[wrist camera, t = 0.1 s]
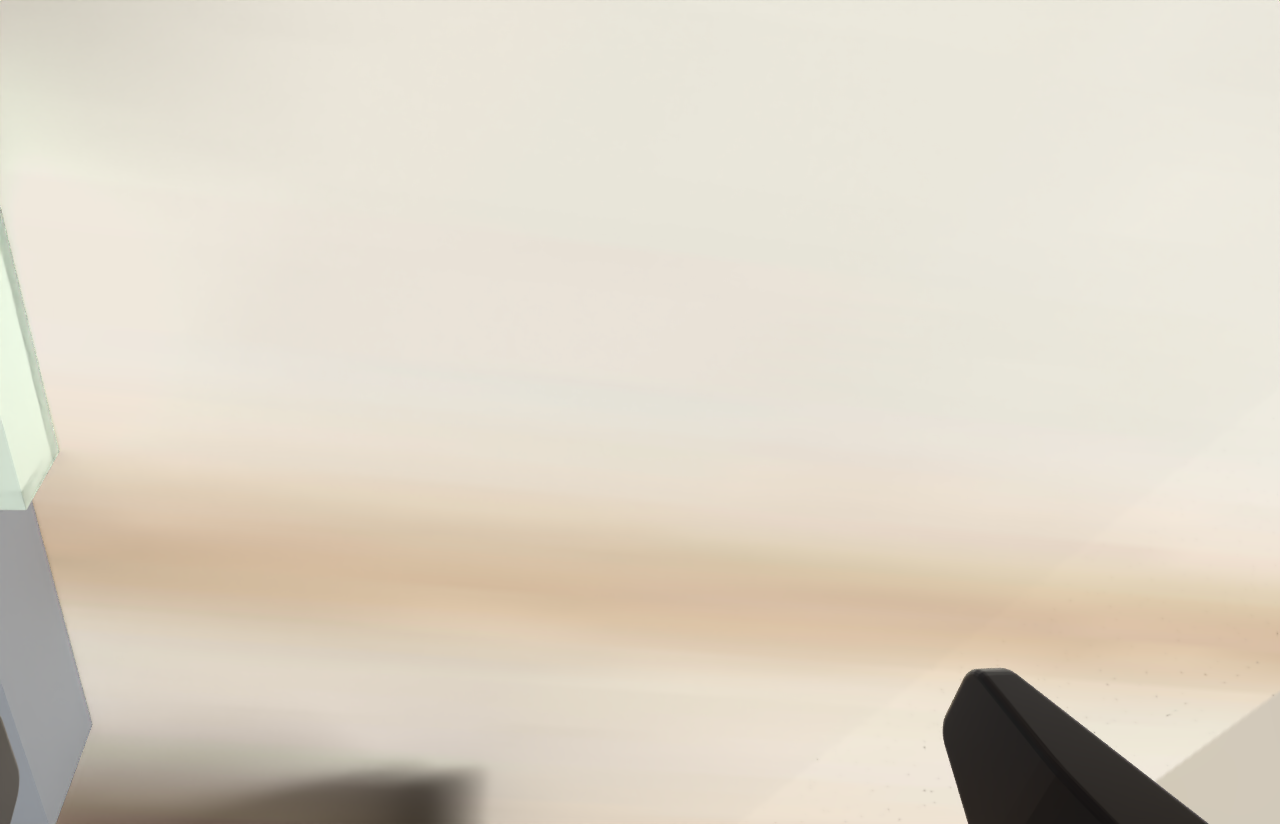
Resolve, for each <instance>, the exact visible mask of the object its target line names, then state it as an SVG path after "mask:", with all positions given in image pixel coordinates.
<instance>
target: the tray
mask: <svg viewBox="0 0 1280 824" xmlns="http://www.w3.org/2000/svg"><path fill="white" fill-rule="evenodd" d="M58 453H59V448H58V444H57V440H56V436H55V432H54V428H53V423H52V419H51V415H50V411H49V407H48V403H47V398H46V394H45V390H44V386H43V382H42V378H41V373H40V369H39V365H38V361H37V357H36V353H35V349H34V344H33V340H32V336H31V332H30V328H29V324H28V319H27V315H26V311H25V307H24V303H23V299H22V294H21V290H20V286H19V282H18V278H17V274H16V270H15V265H14V261H13V257H12V253H11V249H10V245H9V240H8V236H7V232H6V228H5V224H4V220H3V215H2V211H1V207H0V510H27V508H28V506H29V505H30V503H31V501H32V499H33V498H34V496H35V494H36V492H37V491H38V489H39V487H40V485H41V483H42V482H43V480H44V478H45V476H46V475H47V473H48V471H49V469H50V468H51V466H52V464H53V462H54V460H55V459H56V457H57V455H58Z"/></svg>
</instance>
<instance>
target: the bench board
mask: <svg viewBox="0 0 1280 824" xmlns="http://www.w3.org/2000/svg"><path fill="white" fill-rule="evenodd" d="M0 716H1V718H2V720H3V723H4V726H5V729H6V732H7V735H8V738H9V741H10V744H11V747H12V750H13V753H14V756H15V759H16V762H17V765H18V769H19V777H20V780H19V791H18V797H17V801H16V805H15V808H14V812H13V816H12V820H11V824H56V822H57V819H58V817H59V814H60V811H61V808H62V806H63V803H64V800H65V798H66V795H67V792H68V789H69V787H70V784H71V781H72V779H73V776H74V773H75V770H76V768H77V765H78V762H79V760H80V757H81V754H82V751H83V749H84V746H85V743H86V741H87V738H88V735H89V732H90V730H91V727H92V722H91V718H90V714H89V711H88V707H87V703H86V699H85V696H84V692H83V688H82V685H81V681H80V677H79V674H78V670H77V666H76V662H75V659H74V655H73V651H72V648H71V644H70V640H69V636H68V633H67V629H66V625H65V622H64V618H63V614H62V610H61V607H60V603H59V599H58V596H57V592H56V588H55V584H54V581H53V577H52V573H51V570H50V566H49V562H48V559H47V555H46V551H45V547H44V544H43V540H42V536H41V533H40V529H39V525H38V521H37V518H36V514H35V510H34V507H33V503H32V501H31V503H30V505H29V506H28V508H27V510H0Z"/></svg>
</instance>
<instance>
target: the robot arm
mask: <svg viewBox="0 0 1280 824" xmlns="http://www.w3.org/2000/svg"><path fill="white" fill-rule="evenodd" d="M943 739H944V744H945V747H946V751H947V754H948V758H949V761H950V764H951V768H952V771H953V774H954V778H955V781H956V784H957V788H958V791H959V794H960V798H961V801H962V804H963V808H964V811H965V814H966V818H967V821H968V824H1208V823H1207V822H1206V821H1204V820H1203V819H1202V818H1201V817H1199V816H1198V815H1197V814H1195V813H1194V812H1193V811H1192V810H1190V809H1189V808H1188V807H1186V806H1185V805H1184V804H1182V803H1181V802H1180V801H1179V800H1177V799H1176V798H1175V797H1173V796H1172V795H1171V794H1170V793H1168V792H1167V791H1166V790H1165V789H1163V788H1162V787H1161V786H1159V785H1158V784H1157V783H1156V782H1154V781H1153V780H1152V779H1151V778H1149V777H1148V776H1147V775H1145V774H1144V773H1143V772H1142V771H1140V770H1139V769H1138V768H1136V767H1135V766H1134V765H1133V764H1131V763H1130V762H1129V761H1127V760H1126V759H1125V758H1124V757H1122V756H1121V755H1120V754H1118V753H1117V752H1116V751H1115V750H1113V749H1112V748H1111V747H1109V746H1108V745H1107V744H1106V743H1104V742H1103V741H1102V740H1101V739H1099V738H1098V737H1097V736H1095V735H1094V734H1093V733H1092V732H1090V731H1089V730H1088V729H1086V728H1085V727H1084V726H1083V725H1081V724H1080V723H1079V722H1077V721H1076V720H1075V719H1074V718H1072V717H1071V716H1070V715H1068V714H1067V713H1066V712H1065V711H1063V710H1062V709H1061V708H1060V707H1058V706H1057V705H1056V704H1054V703H1053V702H1052V701H1051V700H1049V699H1048V698H1047V697H1045V696H1044V695H1043V694H1042V693H1040V692H1039V691H1038V690H1036V689H1035V688H1034V687H1033V686H1031V685H1030V684H1029V683H1027V682H1026V681H1025V680H1024V679H1022V678H1021V677H1020V676H1018V675H1017V674H1016V673H1014V672H1013V671H1011V670H1008V669H1005V668H986V669H974V670H971V671H970V672H968V673H967V674H966V676H965V677H964V679H963V681H962V683H961V685H960V687H959V689H958V691H957V693H956V695H955V697H954V699H953V701H952V703H951V705H950V707H949V709H948V711H947V713H946V715H945V718H944V722H943ZM19 780H20V777H19V769H18V765H17V762H16V759H15V756H14V753H13V750H12V747H11V744H10V741H9V738H8V735H7V732H6V729H5V726H4V723H3V720H2V718H1V716H0V824H11V820H12V816H13V812H14V808H15V805H16V801H17V797H18V791H19Z"/></svg>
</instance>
